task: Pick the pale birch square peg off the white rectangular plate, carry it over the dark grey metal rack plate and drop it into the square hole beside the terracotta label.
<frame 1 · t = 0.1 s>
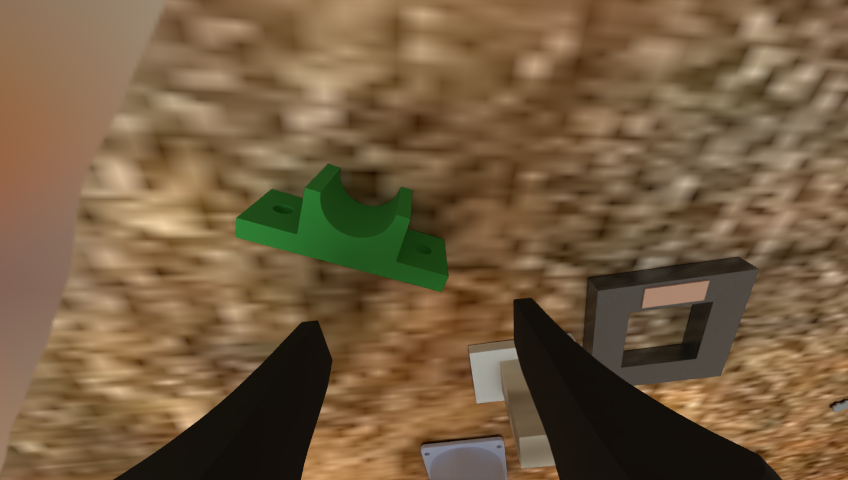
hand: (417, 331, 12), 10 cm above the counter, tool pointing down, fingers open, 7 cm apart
pipe clamp: (365, 204, 21), on the counter
birch peg: (522, 373, 27), point 1 cm above the counter, touching white rectangular plate
white rectangular plate: (520, 365, 27), on the counter
rack plate: (651, 322, 25), on the counter
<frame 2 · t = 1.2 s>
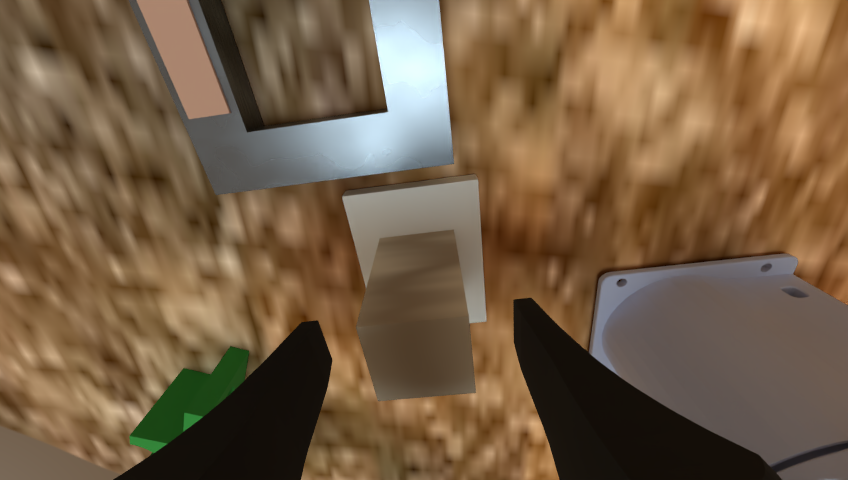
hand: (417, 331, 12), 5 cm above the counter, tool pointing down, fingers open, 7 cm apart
pipe clamp: (216, 395, 23), on the counter
birch peg: (421, 265, 16), point 1 cm above the counter, touching white rectangular plate
white rectangular plate: (421, 257, 17), on the counter
rack plate: (307, 41, 13), on the counter
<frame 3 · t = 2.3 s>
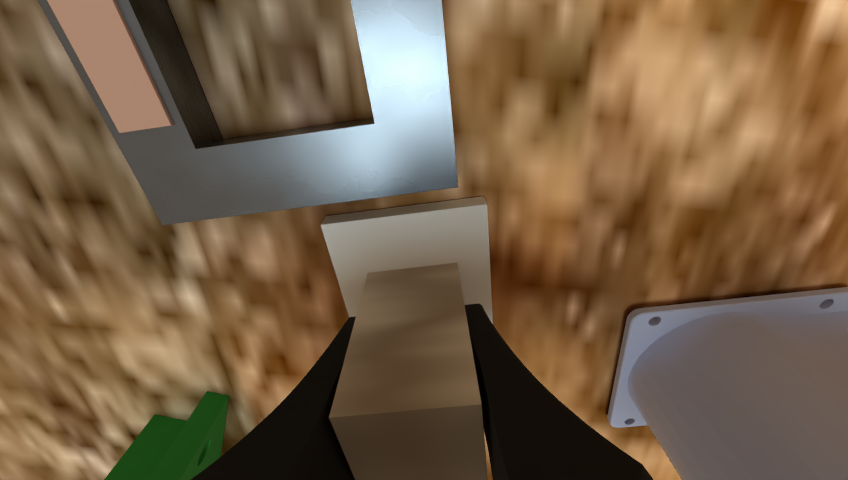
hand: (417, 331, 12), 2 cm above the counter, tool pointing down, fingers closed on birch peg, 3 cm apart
pipe clamp: (194, 441, 20), on the counter
birch peg: (418, 303, 14), point 1 cm above the counter, touching gripper, white rectangular plate
white rectangular plate: (418, 291, 14), on the counter
rack plate: (272, 32, 10), on the counter
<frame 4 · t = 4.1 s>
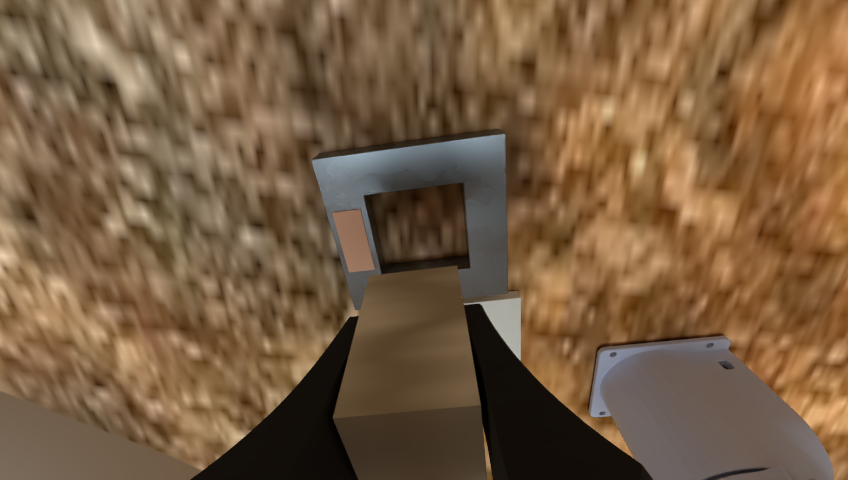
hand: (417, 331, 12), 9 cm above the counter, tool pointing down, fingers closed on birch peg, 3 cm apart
birch peg: (419, 305, 14), point 8 cm above the counter, touching gripper
white rectangular plate: (477, 337, 25), on the counter
rack plate: (420, 223, 21), on the counter
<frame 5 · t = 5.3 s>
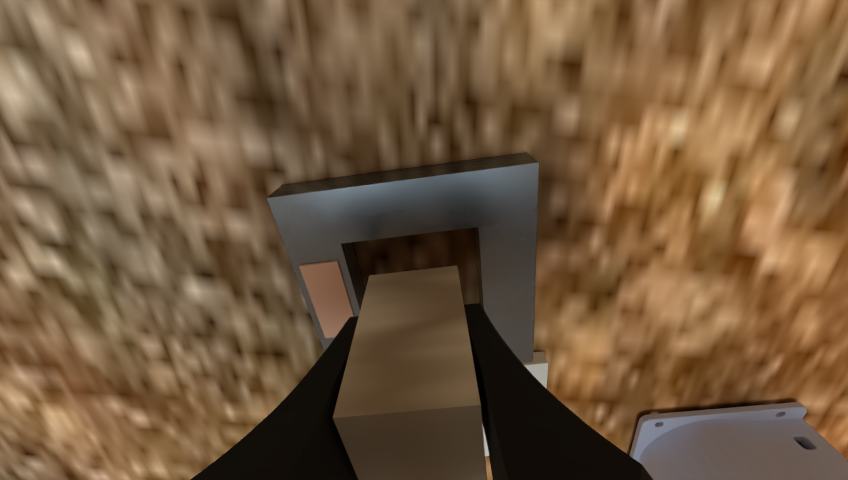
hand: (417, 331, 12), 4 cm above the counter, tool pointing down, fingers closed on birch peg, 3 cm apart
birch peg: (419, 305, 14), point 2 cm above the counter, touching gripper
white rectangular plate: (490, 403, 20), on the counter
rack plate: (419, 272, 16), on the counter
when the fingers open (4 cm above the counter, at t = 5.9 s): birch peg drops 2 cm, resting in rack plate.
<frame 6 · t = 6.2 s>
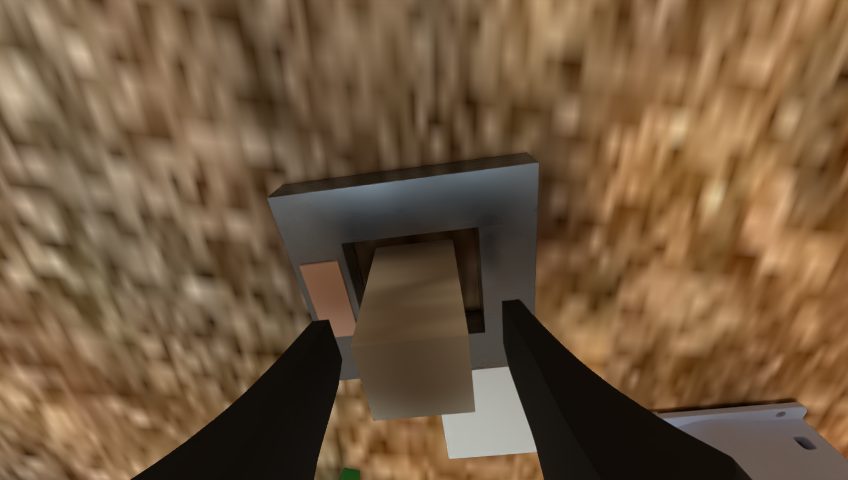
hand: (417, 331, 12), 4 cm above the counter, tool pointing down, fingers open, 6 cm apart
birch peg: (419, 275, 16), resting in rack plate
white rectangular plate: (490, 403, 20), on the counter
rack plate: (419, 272, 16), on the counter
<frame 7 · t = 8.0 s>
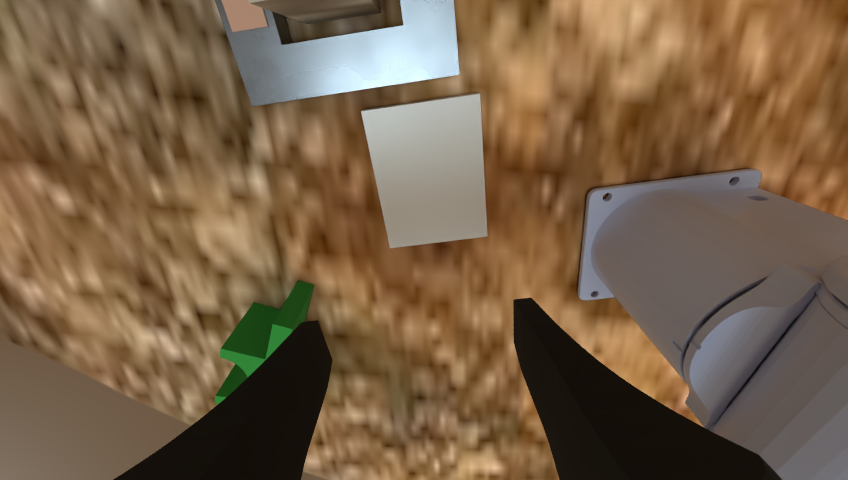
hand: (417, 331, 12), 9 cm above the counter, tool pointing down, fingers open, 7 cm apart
pipe clamp: (278, 331, 25), on the counter
white rectangular plate: (429, 175, 19), on the counter
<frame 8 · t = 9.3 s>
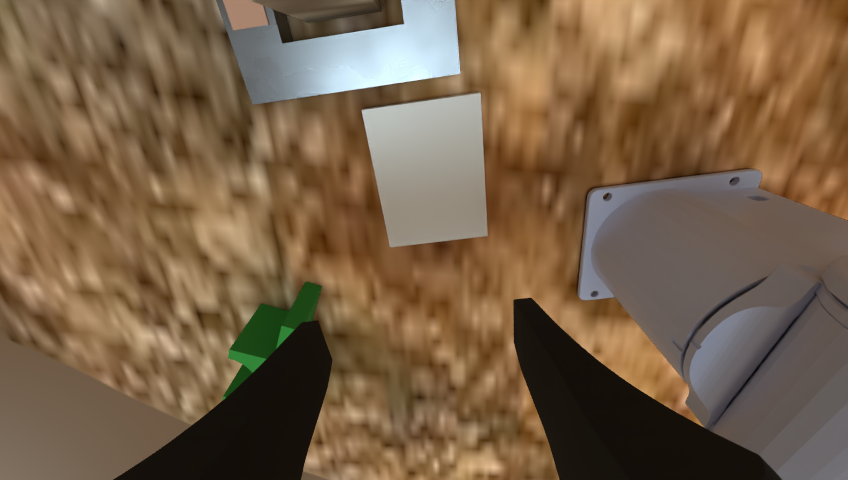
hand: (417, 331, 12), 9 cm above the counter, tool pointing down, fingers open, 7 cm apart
pipe clamp: (285, 332, 25), on the counter
white rectangular plate: (430, 174, 19), on the counter
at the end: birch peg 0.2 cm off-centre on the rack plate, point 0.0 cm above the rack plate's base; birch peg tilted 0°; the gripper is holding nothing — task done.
